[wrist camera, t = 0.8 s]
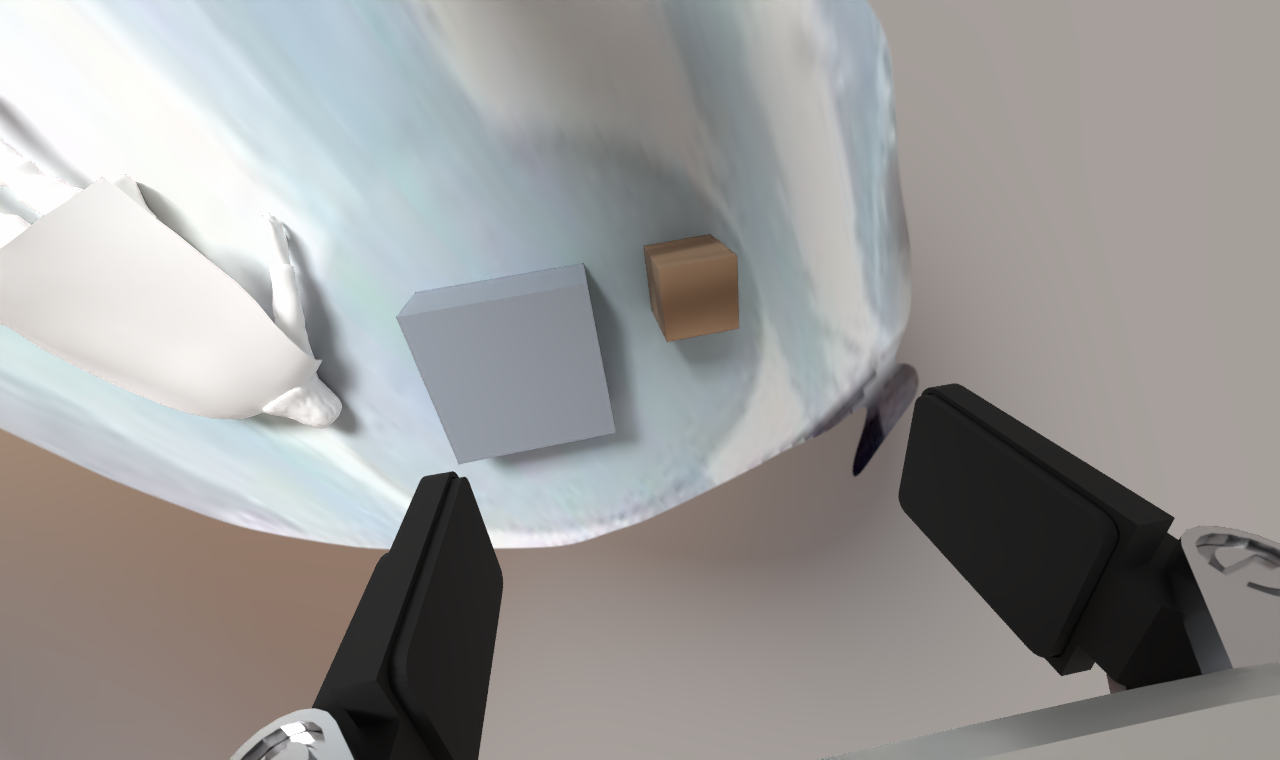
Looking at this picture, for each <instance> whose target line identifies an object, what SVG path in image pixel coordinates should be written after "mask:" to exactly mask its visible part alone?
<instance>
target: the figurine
mask: <svg viewBox="0 0 1280 760" xmlns="http://www.w3.org/2000/svg"><path fill="white" fill-rule="evenodd" d="M0 184H1V185H3V186H5V187H8V188H9V189H10V190H11V191H12V192H14V194H15V196H16V198H17V200H18V202H19V203H21V204H22V205H24V206H26V207H28V208H30V209H32V210H34V211H36V212H38V213H40V214H42V215H44V216H42V217H41V218H40V219H39V220H37V221H36V222H35V223H33V224H32V225H30V224H29V223H27V222H26V221H25V220H24V219H22V218H21V217H20V216H18V215H11V214H2V213H0V324H2V325H4V326H6V327H9V328H11V329H12V330H14V331H15V332H17V333H18V334H20V335H21V336H23V337H24V338H26V339H27V340H29V341H30V342H32V343H34V344H35V345H37V346H38V347H40V348H42V349H44V350H45V351H47V352H49V353H51V354H53V355H55V356H57V357H59V358H61V359H63V360H65V361H67V362H69V363H70V364H72V365H74V366H76V367H78V368H80V369H82V370H85V371H87V372H89V373H91V374H93V375H95V376H97V377H99V378H101V379H103V380H105V381H107V382H109V383H111V384H114V385H116V386H118V387H121V388H123V389H125V390H128V391H130V392H132V393H135V394H137V395H139V396H142V397H144V398H147V399H149V400H152V401H154V402H157V403H159V404H162V405H164V406H167V407H171V408H174V409H177V410H180V411H183V412H187V413H190V414H194V415H199V416H204V417H209V418H219V419H244V418H248V417H252V416H255V415H258V414H260V413H263V412H265V413H267V414H270V415H275V416H283V417H287V418H291V419H293V420H296V421H298V422H300V423H302V424H305V425H308V426H311V427H314V428H326V427H327V426H328V425H330V424H331V423H333V422H334V421H335V420H336V419H337V418H338V416H339V415H340V412H341V409H342V404H341V401H340V399H339V398H338V397H337V396H336V395H335V394H334V393H333V392H332V391H331V390H330V389H329V388H328V387H327V386H326V385H325V384H324V383H323V382H322V381H321V380H320V379H319V378H318V375H317V373H316V371H317V369H318V368H319V366H320V364H321V362H322V359H318V360H315V358H314V355H313V353H312V350H311V347H310V344H309V341H308V333H307V331H306V328H305V317H304V313H303V309H302V305H301V300H300V296H299V291H298V287H297V283H296V277H295V270H294V267H293V266H292V265H291V264H290V257H289V248H288V242H287V238H286V235H285V233H284V230H283V227H282V225H281V224H280V222H279V221H278V220H277V219H276V218H275V217H274V216H273V215H270V213H269V212H267V214H265V213H263V214H262V216H263V217H264V219H265V220H266V221H267V223H268V233H269V236H270V240H271V242H272V246H273V250H274V254H275V258H276V263H271V265H270V267H269V271H270V277H271V281H272V288H273V301H272V309H273V317H274V320H275V324H274V323H273V321H272V320H271V319H270V318H269V316H268V315H267V314H266V313H265V312H264V310H263V309H262V308H261V307H260V305H259V304H258V303H257V302H256V301H255V300H254V299H253V298H252V297H251V296H250V295H249V294H248V293H247V292H246V291H245V290H244V289H243V288H242V287H241V286H240V285H239V284H238V283H237V282H236V281H235V280H233V279H232V278H231V277H229V276H228V275H227V274H226V273H224V272H223V271H222V270H221V269H219V268H218V267H217V266H216V265H214V264H213V263H212V262H211V261H209V260H208V259H207V258H205V257H204V256H203V255H202V254H201V253H199V252H198V251H197V250H196V249H195V248H193V247H192V246H191V245H190V244H189V243H187V242H186V241H185V240H184V239H183V238H181V237H180V236H179V235H178V234H176V233H175V232H174V231H172V230H171V229H170V228H168V227H167V226H166V225H164V224H163V223H162V222H160V221H159V220H158V219H157V217H156V215H155V214H154V213H153V212H152V211H150V210H149V209H148V207H147V205H146V203H145V200H144V198H143V196H142V194H141V192H140V190H139V187H138V185H137V183H136V181H135V180H134V179H133V178H132V177H131V176H128V175H126V174H125V175H121V176H119V177H117V178H116V179H114V180H113V181H111V182H109V181H108V180H106V179H105V178H103V177H102V178H100V179H99V180H97V181H96V182H94V183H93V184H91V185H90V186H88V187H87V188H85V189H84V190H83V189H81V188H77V187H73V186H72V185H70V184H69V183H67V182H65V181H64V180H61V179H59V178H54V177H49V176H47V175H45V174H44V173H42V172H41V170H40V169H39V168H38V167H37V165H36V164H35V163H33V162H32V161H31V160H28V159H26V158H24V157H23V156H22V155H21V154H20V153H19V152H18V151H17V150H16V149H15V148H14V147H12V146H11V145H9V144H8V143H6V142H5V141H4V140H3V139H2V138H1V137H0Z"/></svg>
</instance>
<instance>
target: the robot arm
mask: <svg viewBox="0 0 1280 760" xmlns="http://www.w3.org/2000/svg"><path fill="white" fill-rule="evenodd" d="M899 502H900V505H901V507H902V509H903V510H904V512H905V513H906V514H907V515H908V516H909V517H910V518H911V519H912V521H913V522H914V523H915V524H916V525H917V526H918V527H919V528H920V529H921V531H922V532H923V533H924V534H925V535H926V536H927V537H928V538H929V539H930V540H931V541H932V542H933V543H934V545H935V546H936V547H937V548H938V549H939V550H940V551H941V553H942V554H943V555H944V556H945V557H946V558H947V559H948V560H949V561H950V562H951V564H953V566H954V567H955V568H956V569H957V570H958V571H959V572H960V573H961V575H962V576H963V577H964V578H965V579H966V580H967V581H968V582H969V583H970V584H971V586H972V587H973V588H974V589H975V590H976V591H977V592H978V593H979V594H980V596H982V598H983V599H984V600H985V601H986V602H987V603H988V604H989V605H990V606H991V608H992V609H993V610H994V611H995V612H996V613H997V614H998V615H999V616H1000V618H1001V619H1002V620H1003V621H1004V622H1005V623H1006V624H1007V625H1008V626H1009V628H1010V629H1011V630H1012V631H1013V632H1014V633H1015V634H1016V635H1017V636H1018V637H1019V638H1020V640H1022V642H1023V643H1024V644H1025V645H1026V646H1027V647H1028V648H1029V649H1030V650H1031V651H1032V652H1033V653H1034V654H1036V655H1038V656H1040V657H1043V658H1045V659H1046V660H1047V661H1048V662H1049V663H1050V664H1051V666H1052V667H1053V668H1054V669H1055V670H1056V671H1057V672H1058V673H1059V674H1060V675H1061V676H1064V675H1068V674H1073V673H1077V672H1082V671H1086V670H1091V668H1092V666H1093V664H1094V663H1095V662H1096V663H1097V664H1098V665H1099V666H1100V667H1101V668H1102V669H1103V670H1104V671H1105V672H1106V673H1107V679H1108V684H1109V689H1110V694H1108V695H1104V696H1099V697H1095V698H1090V699H1086V700H1081V701H1077V702H1072V703H1068V704H1063V705H1059V706H1054V707H1050V708H1045V709H1040V710H1036V711H1032V712H1027V713H1022V714H1018V715H1013V716H1009V717H1004V718H1000V719H995V720H991V721H986V722H982V723H977V724H973V725H969V726H964V727H960V728H955V729H951V730H946V731H942V732H938V733H933V734H929V735H924V736H920V737H916V738H911V739H907V740H902V741H898V742H894V743H889V744H885V745H880V746H877V747H872V748H867V749H863V750H858V751H854V752H850V753H845V754H842V755H837V756H832V757H828V758H824V759H819V760H1280V544H1279V543H1277V542H1274V541H1272V540H1269V539H1267V538H1264V537H1262V536H1259V535H1255V534H1252V533H1248V532H1245V531H1241V530H1238V529H1232V528H1225V527H1219V526H1197V527H1194V528H1191V529H1187V530H1186V531H1185V532H1184V533H1183V535H1182V536H1181V537H1180V539H1179V540H1178V539H1176V538H1174V537H1173V536H1171V535H1170V534H1168V533H1167V531H1168V529H1169V527H1170V526H1171V524H1172V522H1173V520H1174V517H1173V516H1171V515H1169V514H1168V513H1166V512H1164V511H1163V510H1161V509H1160V508H1158V507H1156V506H1155V505H1153V504H1152V503H1150V502H1148V501H1147V500H1145V499H1144V498H1142V497H1140V496H1139V495H1137V494H1136V493H1134V492H1132V491H1131V490H1129V489H1127V488H1126V487H1124V486H1123V485H1121V484H1119V483H1118V482H1116V481H1115V480H1113V479H1111V478H1110V477H1108V476H1106V475H1105V474H1103V473H1102V472H1100V471H1098V470H1097V469H1095V468H1094V467H1092V466H1090V465H1089V464H1087V463H1086V462H1084V461H1082V460H1081V459H1079V458H1078V457H1076V456H1074V455H1073V454H1071V453H1070V452H1068V451H1066V450H1065V449H1063V448H1061V447H1060V446H1058V445H1057V444H1055V443H1053V442H1052V441H1050V440H1049V439H1047V438H1045V437H1044V436H1042V435H1040V434H1039V433H1037V432H1036V431H1034V430H1032V429H1031V428H1029V427H1028V426H1026V425H1024V424H1023V423H1021V422H1020V421H1018V420H1016V419H1015V418H1013V417H1012V416H1010V415H1008V414H1007V413H1005V412H1004V411H1002V410H1000V409H999V408H997V407H995V406H994V405H992V404H991V403H989V402H987V401H986V400H984V399H982V398H981V397H979V396H978V395H976V394H974V393H973V392H971V391H970V390H968V389H966V388H965V387H963V386H961V385H959V384H948V385H942V386H937V387H931V388H927V389H926V390H924V391H923V393H922V395H921V396H920V397H918V399H917V400H916V402H915V407H914V412H913V418H912V423H911V429H910V434H909V440H908V445H907V450H906V456H905V462H904V467H903V473H902V478H901V483H900V489H899ZM502 591H503V576H502V571H501V568H500V565H499V563H498V560H497V557H496V554H495V552H494V549H493V546H492V544H491V541H490V538H489V535H488V533H487V530H486V527H485V524H484V522H483V519H482V516H481V513H480V511H479V508H478V505H477V502H476V500H475V497H474V494H473V491H472V489H471V486H470V483H469V481H468V479H467V478H466V477H461V478H459V477H458V475H457V474H456V473H455V472H453V471H452V472H447V473H441V474H435V475H430V476H425V477H423V478H422V479H421V481H420V483H419V485H418V487H417V489H416V492H415V494H414V496H413V499H412V501H411V503H410V506H409V508H408V510H407V512H406V515H405V517H404V519H403V522H402V524H401V526H400V529H399V531H398V533H397V535H396V538H395V540H394V542H393V545H392V547H391V549H390V551H389V553H386V554H385V555H383V556H382V557H381V558H380V560H379V562H378V563H377V565H376V567H375V569H374V572H373V574H372V576H371V578H370V580H369V583H368V585H367V587H366V589H365V592H364V594H363V596H362V598H361V600H360V603H359V605H358V607H357V609H356V611H355V614H354V616H353V618H352V620H351V622H350V625H349V627H348V629H347V631H346V634H345V636H344V638H343V640H342V643H341V644H340V647H339V649H338V651H337V653H336V656H335V658H334V660H333V662H332V664H331V667H330V669H329V671H328V673H327V675H326V678H325V680H324V682H323V684H322V686H321V689H320V691H319V693H318V695H317V698H316V700H315V702H314V704H313V706H312V709H305V710H298V711H295V712H293V713H290V714H288V715H285V716H283V717H280V718H278V719H277V720H275V721H274V722H272V723H271V724H269V725H267V726H266V727H264V728H263V729H261V730H260V731H258V732H257V733H256V734H255V735H254V736H253V737H252V738H250V739H249V740H248V741H247V742H246V743H245V744H243V745H242V746H241V747H240V748H239V749H238V750H237V752H236V753H235V754H234V755H233V756H232V757H231V758H230V760H478V756H479V748H480V742H481V735H482V728H483V722H484V715H485V708H486V701H487V694H488V686H489V680H490V674H491V667H492V660H493V653H494V645H495V639H496V633H497V632H496V631H497V626H498V619H499V612H500V605H501V598H502Z"/></svg>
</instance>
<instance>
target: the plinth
mask: <svg viewBox="0 0 1280 760" xmlns="http://www.w3.org/2000/svg"><path fill="white" fill-rule="evenodd" d="M396 318H397V320H398V323H399V325H400V327H401V330H402V332H403V334H404V337H405V339H406V341H407V344H408V346H409V348H410V351H411V353H412V355H413V358H414V360H415V363H416V365H417V367H418V370H419V372H420V374H421V377H422V379H423V381H424V384H425V386H426V388H427V391H428V393H429V395H430V398H431V400H432V402H433V405H434V407H435V409H436V412H437V414H438V417H439V419H440V421H441V424H442V426H443V428H444V431H445V433H446V435H447V438H448V440H449V442H450V445H451V447H452V449H453V452H454V454H455V456H456V459H457V461H458V463H459V464H462V463H467V462H472V461H478V460H483V459H488V458H493V457H498V456H503V455H508V454H513V453H518V452H523V451H528V450H533V449H538V448H543V447H548V446H553V445H558V444H563V443H568V442H573V441H578V440H583V439H588V438H593V437H599V436H604V435H609V434H614V433H616V430H615V424H614V419H613V414H612V408H611V403H610V398H609V392H608V387H607V382H606V377H605V372H604V367H603V361H602V356H601V351H600V346H599V341H598V336H597V331H596V325H595V320H594V315H593V310H592V305H591V300H590V294H589V289H588V284H587V279H586V274H585V269H584V264H583V263H582V264H577V265H571V266H565V267H559V268H553V269H548V270H542V271H536V272H530V273H525V274H519V275H513V276H507V277H502V278H496V279H490V280H484V281H478V282H473V283H467V284H461V285H455V286H450V287H444V288H438V289H432V290H427V291H421V292H415V294H414V295H413V296H412V298H411V299H410V300H409V301H408V303H407V304H406V305H405V306H404V308H403V309H402V310H401V312H400V313H399V314H398V315H397V317H396Z"/></svg>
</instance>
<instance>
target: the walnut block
mask: <svg viewBox="0 0 1280 760" xmlns="http://www.w3.org/2000/svg"><path fill="white" fill-rule="evenodd" d="M644 254H645V262H646V270H647V278H648V286H649V294H650V302H651V310H652V312H653V314H654V316H655V318H656V320H657V322H658V324H659V327H660V329H661V331H662V333H663V335H664V337H665V339H666V341H667V342H669V341H674V340H679V339H685V338H690V337H696V336H701V335H706V334H712V333H717V332H722V331H728V330H733V329H738V328H739V307H738V267H737V255H736V254H735V253H734V252H732V251H731V250H730V249H728V248H727V247H726V246H725V245H723V244H722V243H721V242H720V241H718V240H717V239H716V238H714V237H713V236H712V235H711V234H709V235H704V236H698V237H692V238H686V239H680V240H675V241H669V242H663V243H657V244H651V245H646V246H644Z"/></svg>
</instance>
